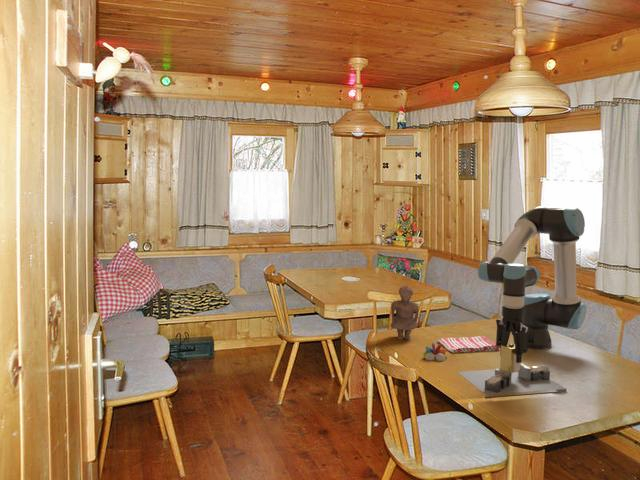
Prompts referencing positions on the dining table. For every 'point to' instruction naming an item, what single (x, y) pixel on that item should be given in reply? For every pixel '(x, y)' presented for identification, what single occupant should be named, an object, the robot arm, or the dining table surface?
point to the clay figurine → (404, 313)
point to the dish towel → (468, 344)
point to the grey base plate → (516, 384)
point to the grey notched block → (498, 381)
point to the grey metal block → (534, 373)
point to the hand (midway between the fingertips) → (510, 368)
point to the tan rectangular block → (507, 357)
